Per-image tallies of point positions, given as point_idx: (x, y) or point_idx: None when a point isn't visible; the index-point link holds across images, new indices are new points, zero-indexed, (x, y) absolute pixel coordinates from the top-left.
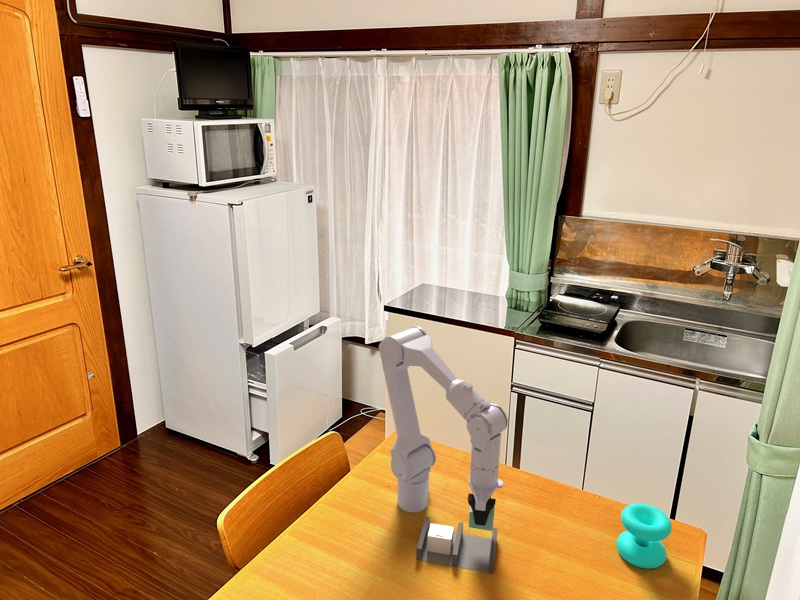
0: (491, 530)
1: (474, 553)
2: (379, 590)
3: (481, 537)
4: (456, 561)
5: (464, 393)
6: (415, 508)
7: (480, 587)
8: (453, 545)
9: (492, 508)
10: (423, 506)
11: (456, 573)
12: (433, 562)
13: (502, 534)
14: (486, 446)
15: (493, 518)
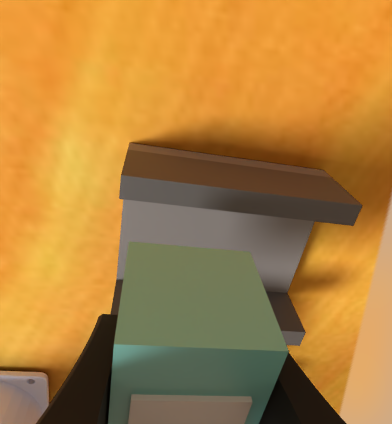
0: (249, 258)
1: (223, 241)
2: None
3: (126, 214)
4: (294, 310)
5: None
6: (30, 422)
7: (362, 213)
8: None
9: (197, 358)
10: (7, 403)
11: (293, 280)
12: None
13: (60, 108)
14: None
15: (276, 323)
